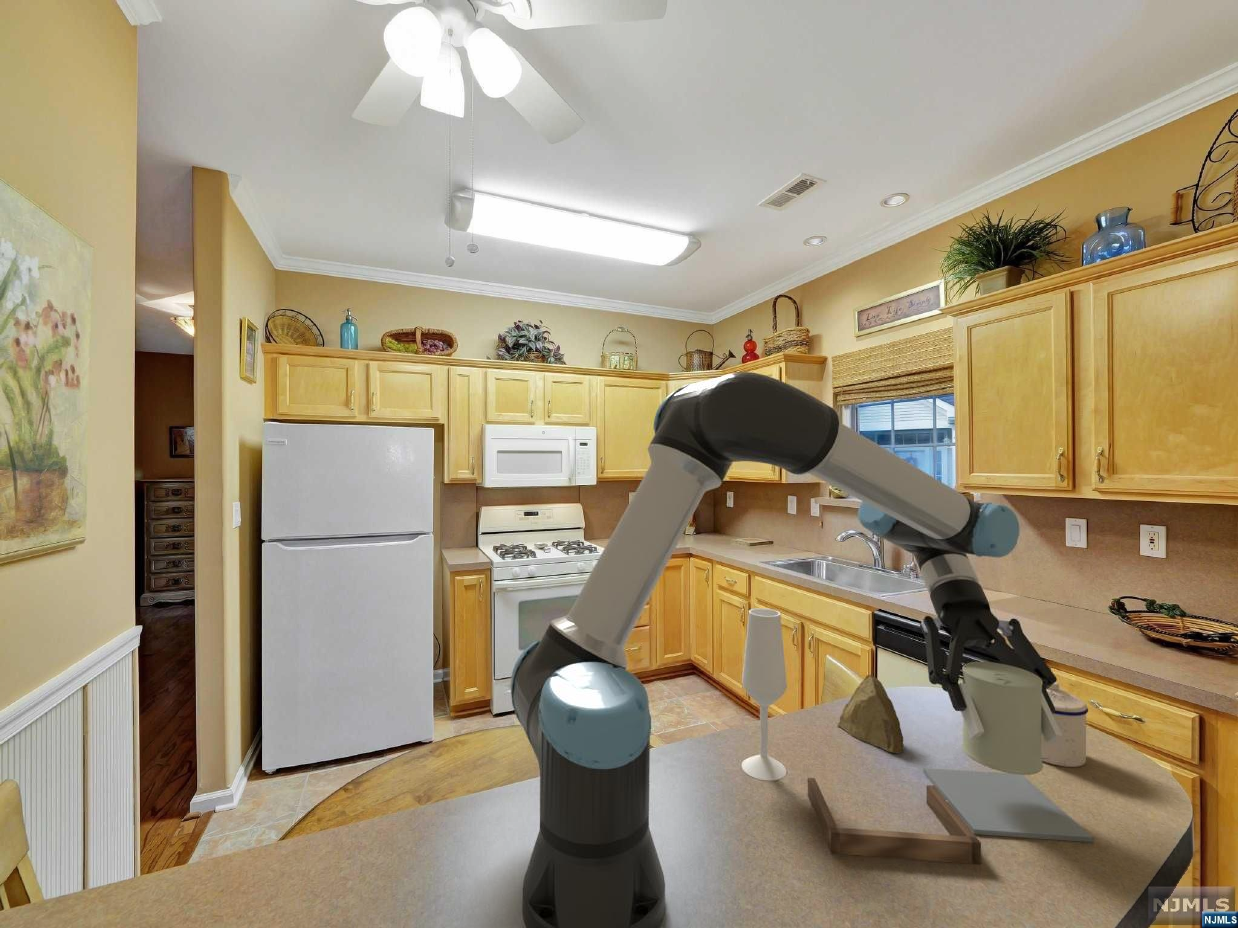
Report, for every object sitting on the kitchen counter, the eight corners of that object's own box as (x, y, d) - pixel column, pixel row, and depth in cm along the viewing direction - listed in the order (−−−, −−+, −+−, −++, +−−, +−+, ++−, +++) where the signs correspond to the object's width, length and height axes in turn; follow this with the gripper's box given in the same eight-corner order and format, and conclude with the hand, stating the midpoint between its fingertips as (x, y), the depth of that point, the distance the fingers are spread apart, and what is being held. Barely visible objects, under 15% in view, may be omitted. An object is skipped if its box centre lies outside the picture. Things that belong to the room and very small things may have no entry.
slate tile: (973, 833, 69) (973, 829, 69) (923, 771, 83) (923, 767, 83) (1093, 842, 68) (1093, 837, 68) (1021, 777, 81) (1021, 773, 81)
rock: (925, 743, 87) (900, 707, 97) (893, 702, 87) (871, 670, 96) (866, 777, 89) (848, 738, 99) (835, 736, 88) (820, 701, 98)
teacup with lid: (1103, 765, 85) (1103, 690, 85) (1056, 772, 83) (1056, 695, 83) (1030, 728, 97) (1030, 663, 97) (987, 734, 95) (988, 667, 95)
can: (959, 760, 74) (960, 672, 74) (963, 733, 82) (963, 653, 82) (1045, 783, 69) (1045, 688, 69) (1040, 751, 77) (1040, 666, 77)
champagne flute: (774, 786, 79) (775, 621, 79) (733, 768, 83) (734, 612, 83) (793, 766, 84) (794, 611, 84) (753, 751, 88) (754, 604, 89)
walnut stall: (831, 852, 65) (831, 832, 65) (807, 795, 77) (807, 777, 77) (980, 864, 64) (981, 842, 64) (934, 803, 75) (934, 785, 75)
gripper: (1015, 603, 90) (1088, 751, 74) (878, 600, 92) (921, 742, 76) (1036, 578, 84) (1120, 731, 68) (891, 575, 86) (939, 722, 71)
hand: (1015, 737), depth 72 cm, fingers closed on can, 9 cm apart
